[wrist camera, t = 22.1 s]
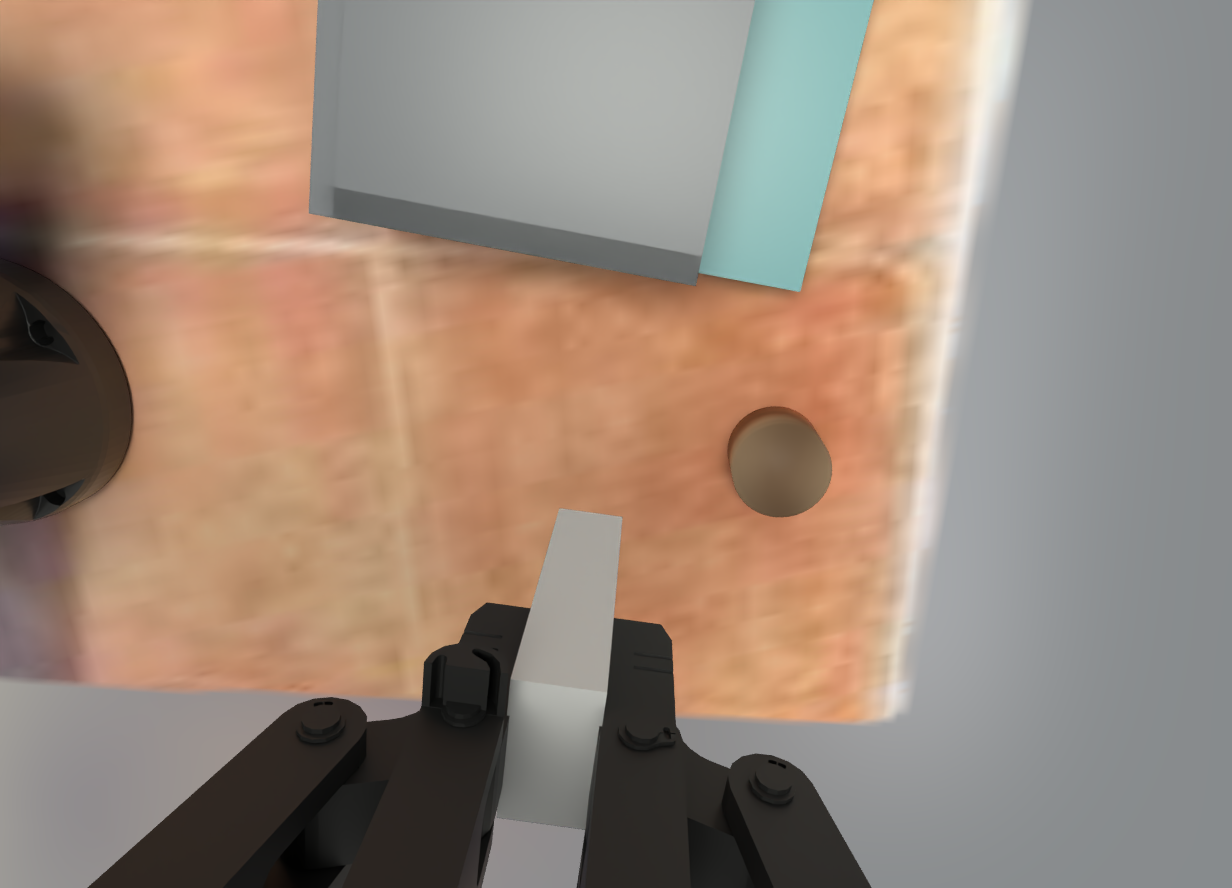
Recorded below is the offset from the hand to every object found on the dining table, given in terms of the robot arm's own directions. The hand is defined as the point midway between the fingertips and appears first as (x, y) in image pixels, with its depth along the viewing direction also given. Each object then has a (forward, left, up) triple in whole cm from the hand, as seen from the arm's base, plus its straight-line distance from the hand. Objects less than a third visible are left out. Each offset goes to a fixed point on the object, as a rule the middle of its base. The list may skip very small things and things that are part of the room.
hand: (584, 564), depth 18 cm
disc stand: (+9, -4, -24) cm, 26 cm away
